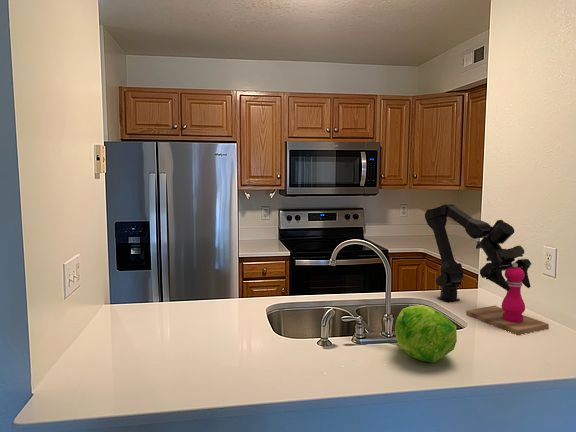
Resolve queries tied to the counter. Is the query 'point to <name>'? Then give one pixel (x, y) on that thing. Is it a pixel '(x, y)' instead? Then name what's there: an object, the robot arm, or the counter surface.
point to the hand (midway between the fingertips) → (519, 288)
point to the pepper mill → (513, 295)
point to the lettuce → (425, 333)
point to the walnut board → (495, 318)
